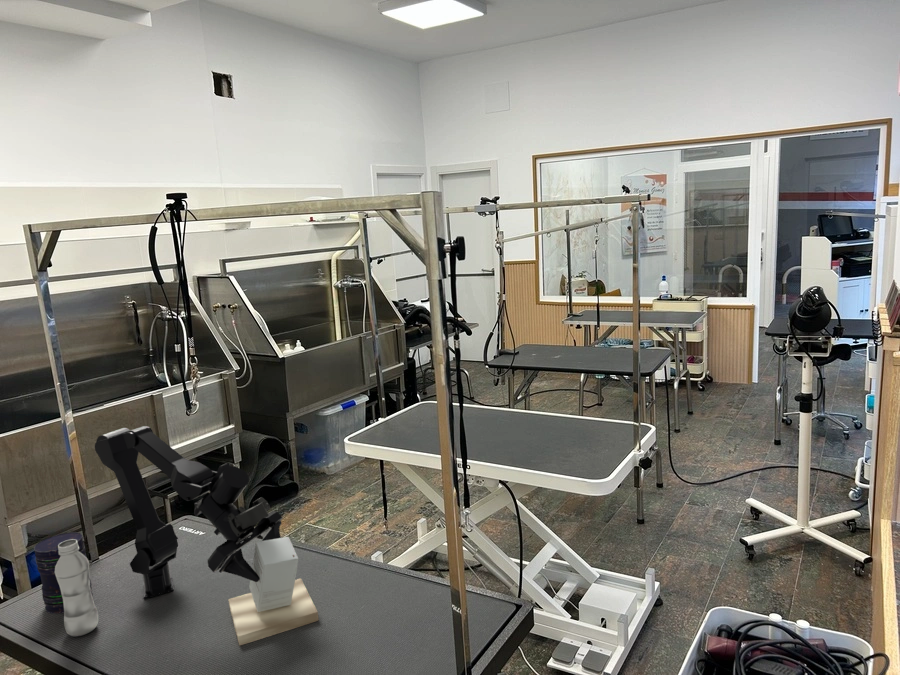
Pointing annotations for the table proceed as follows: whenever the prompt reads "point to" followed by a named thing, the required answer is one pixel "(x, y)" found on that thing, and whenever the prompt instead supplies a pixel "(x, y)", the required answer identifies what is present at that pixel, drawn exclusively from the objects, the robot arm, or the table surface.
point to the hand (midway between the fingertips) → (273, 569)
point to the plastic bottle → (75, 589)
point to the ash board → (271, 615)
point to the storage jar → (53, 569)
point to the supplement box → (274, 573)
